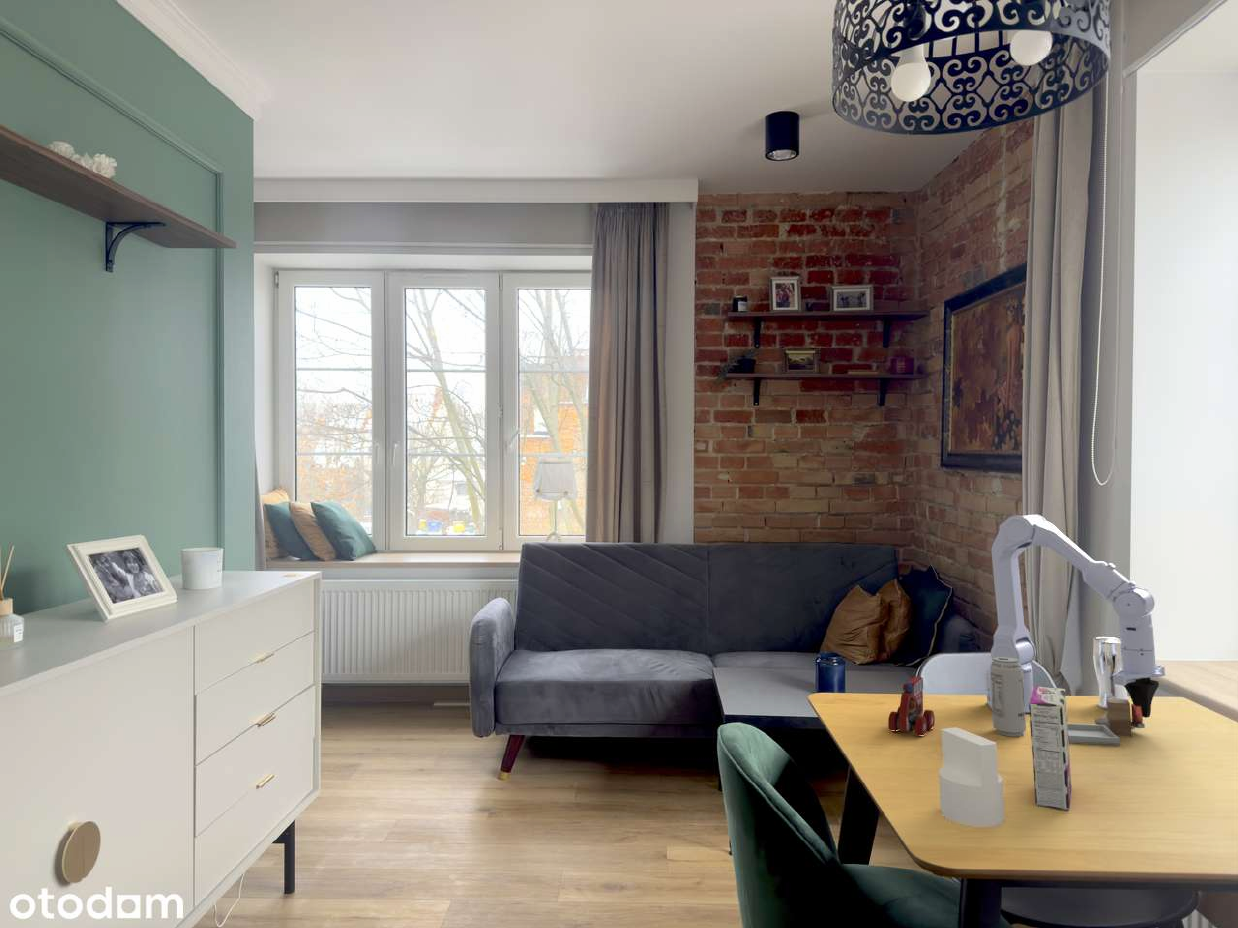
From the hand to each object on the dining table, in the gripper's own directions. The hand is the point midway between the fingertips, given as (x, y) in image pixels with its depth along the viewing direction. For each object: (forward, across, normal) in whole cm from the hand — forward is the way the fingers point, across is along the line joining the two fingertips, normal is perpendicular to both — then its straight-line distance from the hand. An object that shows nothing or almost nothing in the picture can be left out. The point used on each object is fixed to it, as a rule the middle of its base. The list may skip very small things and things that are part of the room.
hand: (1142, 716), depth 156 cm
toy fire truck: (+3, -37, +25) cm, 45 cm away
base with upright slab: (+3, -62, -9) cm, 63 cm away
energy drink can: (+3, -22, +14) cm, 26 cm away
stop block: (+3, -5, +2) cm, 6 cm away
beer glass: (+3, +13, +14) cm, 19 cm away
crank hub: (+3, +1, +6) cm, 7 cm away
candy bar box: (+3, -46, -11) cm, 47 cm away
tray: (+3, -12, +4) cm, 13 cm away
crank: (+2, 0, +3) cm, 4 cm away
